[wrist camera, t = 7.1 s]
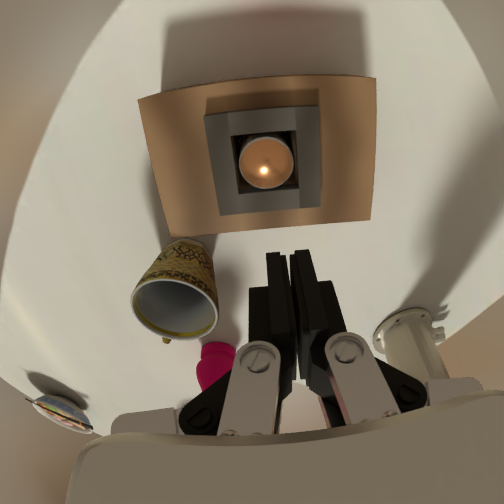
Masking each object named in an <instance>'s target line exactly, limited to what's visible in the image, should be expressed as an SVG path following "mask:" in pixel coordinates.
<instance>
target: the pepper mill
mask: <svg viewBox="0 0 504 504" xmlns="http://www.w3.org/2000/svg"><path fill="white" fill-rule="evenodd" d="M235 355H236V352H235V350H234V348H233V347H231V346H230V345H228V344H226V343H222V342H212V343H208V344H206V345H204V346H203V348H202V350H201V361H200V362H199V363H198V364H197V368H196V374H197V379H198V382H199V384H200V387H201V389H202V392H203V391H204V390H205V389H207V388H208V387H209V386H211V385H212V384H213V383H214V382H216V381H217V380H218V379H219V378H220V377H222V376H223V375H224V374H225V373H227V372H228V371H229V370H230V369H231V368H232V367H233V363H234V358H235Z"/></svg>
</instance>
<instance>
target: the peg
mask: <svg viewBox="0 0 504 504" xmlns="http://www.w3.org/2000/svg"><path fill="white" fill-rule="evenodd" d="M293 165H294V161H293V156H292V154H291V151H290V149H289V147H288V145H287V143H286V141H285V139H284V137H283V135H282V133H281V131H274V132H263V133H252V134H243V135H242V139H241V149H240V158H239V168H240V172H241V174H242V176H243V177H244V179H245V180H246V181H247V182H248V183H249V184H251V185H253V186H255V187H258V188H262V189H270V188H275V187H277V186H279V185H281V184H283V183H284V182H285V181H286V180H287V179H288V178H289V177H290V175H291V173H292V170H293Z"/></svg>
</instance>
